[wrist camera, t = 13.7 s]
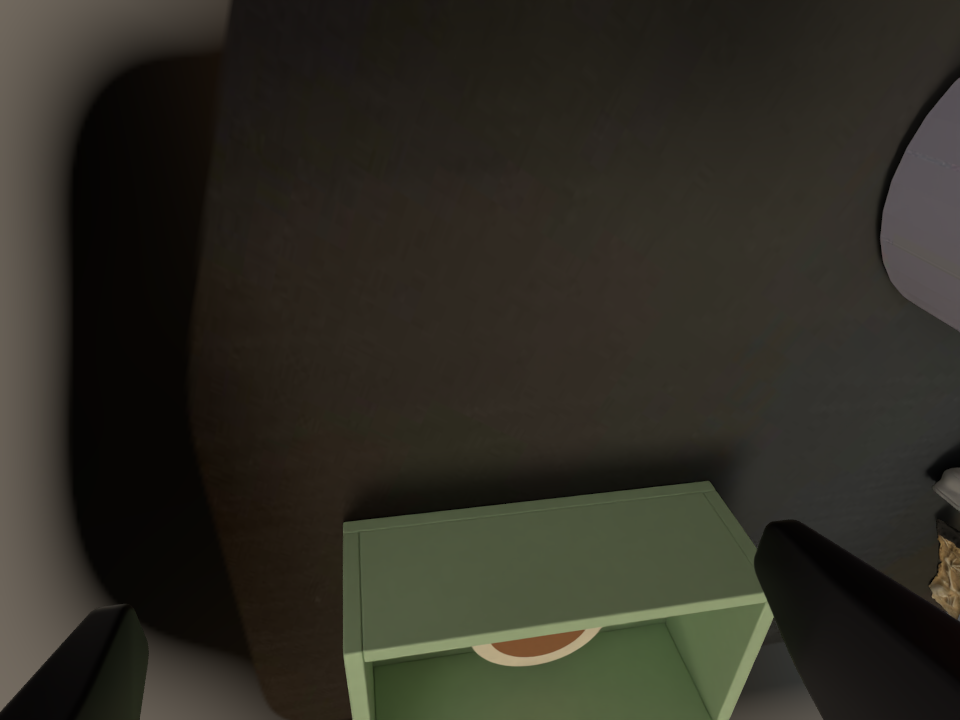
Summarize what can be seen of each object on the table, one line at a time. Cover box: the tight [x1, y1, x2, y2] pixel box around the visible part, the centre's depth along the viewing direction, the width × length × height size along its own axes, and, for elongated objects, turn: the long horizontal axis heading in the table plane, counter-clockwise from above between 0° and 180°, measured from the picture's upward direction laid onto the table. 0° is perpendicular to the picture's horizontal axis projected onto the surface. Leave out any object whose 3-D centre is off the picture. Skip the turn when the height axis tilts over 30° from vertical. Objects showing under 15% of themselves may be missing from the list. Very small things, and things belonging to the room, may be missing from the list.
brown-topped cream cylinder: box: [472, 627, 602, 667], centre depth 27 cm, size 6×6×2 cm
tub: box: [343, 481, 774, 720], centre depth 26 cm, size 15×9×6 cm, turn 88°
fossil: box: [929, 520, 960, 619], centre depth 33 cm, size 8×2×1 cm, turn 21°
